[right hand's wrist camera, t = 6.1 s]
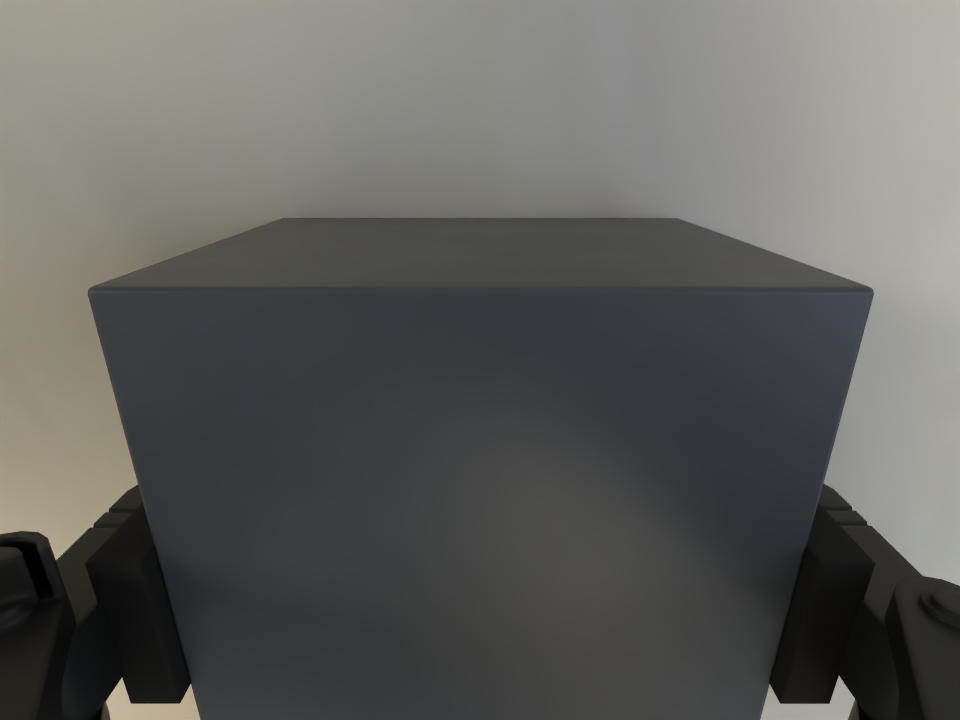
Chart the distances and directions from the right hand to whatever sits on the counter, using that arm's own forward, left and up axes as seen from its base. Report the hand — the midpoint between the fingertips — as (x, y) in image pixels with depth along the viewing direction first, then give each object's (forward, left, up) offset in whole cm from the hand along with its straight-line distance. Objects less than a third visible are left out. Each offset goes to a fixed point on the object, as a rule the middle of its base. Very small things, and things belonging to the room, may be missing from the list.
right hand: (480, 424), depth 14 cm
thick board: (+12, -21, -1) cm, 24 cm away
